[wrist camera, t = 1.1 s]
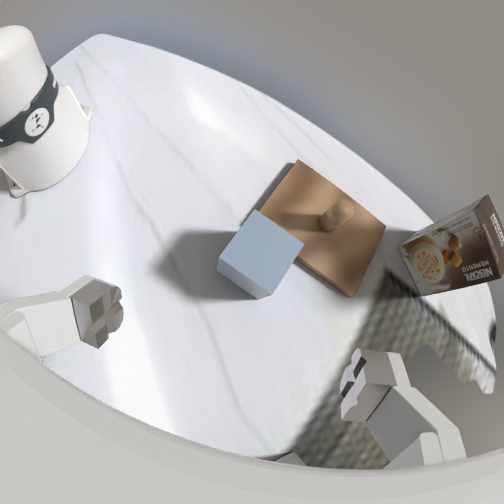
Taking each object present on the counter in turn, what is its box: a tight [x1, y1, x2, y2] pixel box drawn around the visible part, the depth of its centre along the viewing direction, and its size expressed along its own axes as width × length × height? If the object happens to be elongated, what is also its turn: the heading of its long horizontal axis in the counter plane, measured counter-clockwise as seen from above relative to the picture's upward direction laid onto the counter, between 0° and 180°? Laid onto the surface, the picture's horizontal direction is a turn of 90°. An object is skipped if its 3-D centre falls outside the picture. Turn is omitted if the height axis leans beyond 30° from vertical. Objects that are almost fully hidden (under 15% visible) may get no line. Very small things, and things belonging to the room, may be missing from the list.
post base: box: [259, 159, 386, 297], centre depth 33 cm, size 16×12×7 cm
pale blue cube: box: [216, 209, 304, 300], centre depth 30 cm, size 6×6×8 cm
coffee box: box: [398, 195, 504, 296], centre depth 30 cm, size 9×6×16 cm
